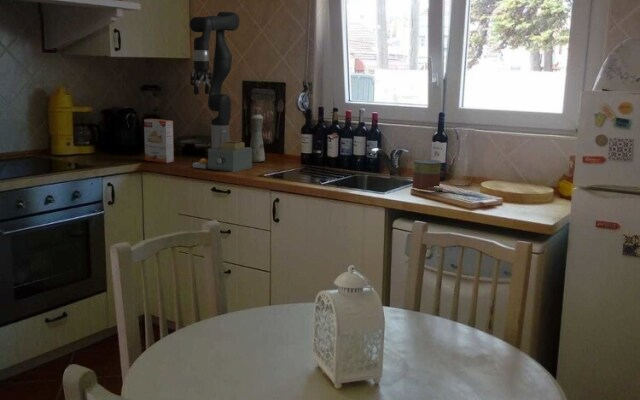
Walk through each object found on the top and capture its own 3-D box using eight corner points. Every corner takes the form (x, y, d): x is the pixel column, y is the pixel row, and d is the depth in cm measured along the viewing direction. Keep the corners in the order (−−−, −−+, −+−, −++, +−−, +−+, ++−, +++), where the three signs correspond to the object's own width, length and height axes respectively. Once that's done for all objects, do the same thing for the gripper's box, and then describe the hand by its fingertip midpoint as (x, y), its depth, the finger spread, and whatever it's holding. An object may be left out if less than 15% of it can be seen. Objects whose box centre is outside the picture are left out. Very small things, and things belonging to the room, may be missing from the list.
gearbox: (227, 165, 324) (227, 140, 321) (252, 168, 317) (252, 142, 315) (205, 170, 308) (205, 143, 305) (230, 173, 302) (230, 146, 299)
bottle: (257, 163, 333) (257, 107, 328) (244, 161, 339) (244, 106, 333) (268, 161, 340) (269, 107, 334) (255, 159, 345) (256, 105, 340)
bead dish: (201, 166, 319) (201, 161, 318) (213, 167, 316) (213, 162, 315) (192, 168, 313) (192, 163, 312) (205, 169, 310) (204, 164, 309)
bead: (202, 166, 317) (202, 157, 316) (209, 166, 315) (209, 158, 314) (197, 167, 313) (197, 158, 312) (204, 167, 312) (204, 159, 311)
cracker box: (144, 160, 331) (143, 119, 327) (152, 159, 337) (151, 118, 332) (166, 163, 325) (165, 120, 321) (174, 162, 330) (173, 120, 326)
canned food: (436, 187, 282) (438, 159, 279) (441, 192, 271) (443, 163, 268) (410, 187, 281) (411, 159, 279) (414, 192, 270) (416, 163, 268)
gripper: (203, 60, 324) (204, 93, 327) (185, 59, 312) (186, 94, 315) (216, 60, 321) (216, 94, 324) (198, 60, 308) (199, 95, 312)
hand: (201, 94), depth 320 cm, fingers open, 8 cm apart
